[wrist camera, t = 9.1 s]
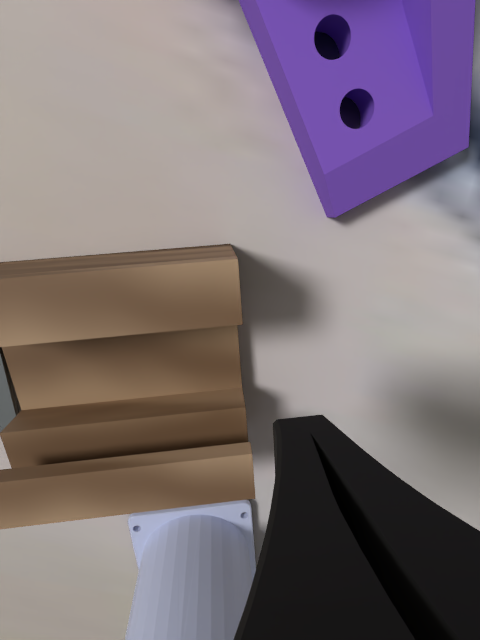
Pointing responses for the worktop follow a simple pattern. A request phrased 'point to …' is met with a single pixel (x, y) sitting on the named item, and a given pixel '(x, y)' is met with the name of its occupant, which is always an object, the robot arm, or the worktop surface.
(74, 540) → the worktop surface
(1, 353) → the cover plate
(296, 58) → the bracket
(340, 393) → the worktop surface
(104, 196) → the worktop surface
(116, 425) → the sleeve box
